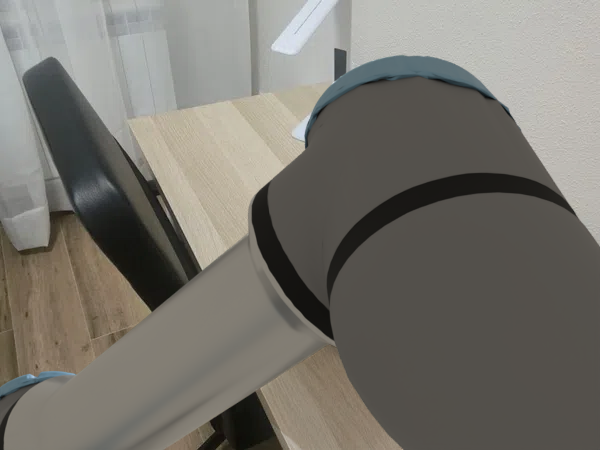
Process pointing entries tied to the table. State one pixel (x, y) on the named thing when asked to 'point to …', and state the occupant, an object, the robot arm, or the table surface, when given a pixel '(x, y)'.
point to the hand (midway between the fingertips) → (435, 258)
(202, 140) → the table surface
